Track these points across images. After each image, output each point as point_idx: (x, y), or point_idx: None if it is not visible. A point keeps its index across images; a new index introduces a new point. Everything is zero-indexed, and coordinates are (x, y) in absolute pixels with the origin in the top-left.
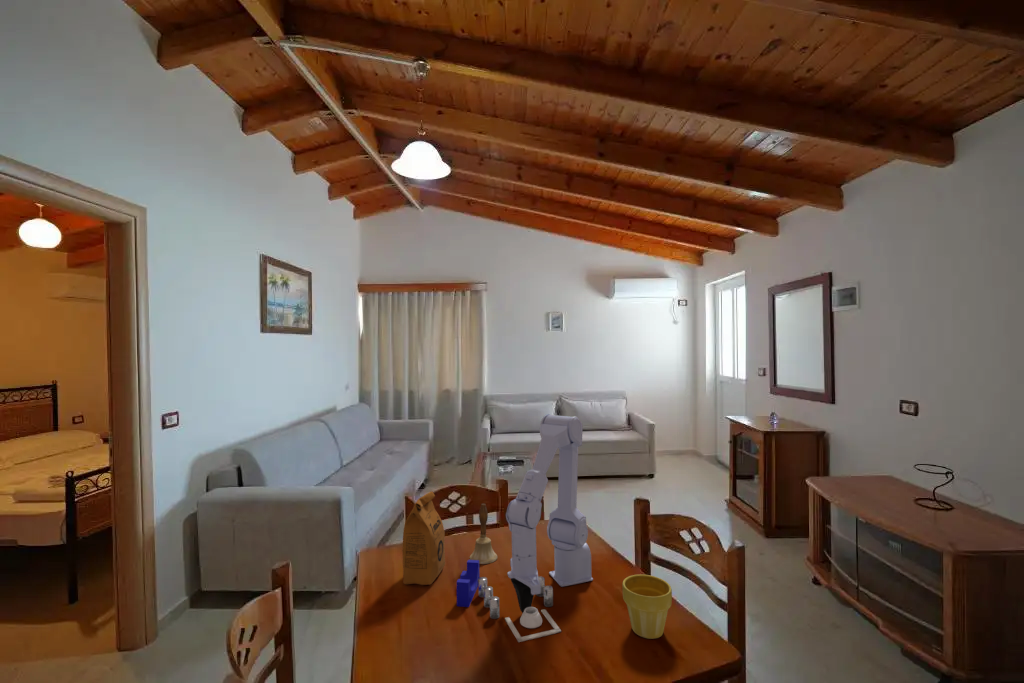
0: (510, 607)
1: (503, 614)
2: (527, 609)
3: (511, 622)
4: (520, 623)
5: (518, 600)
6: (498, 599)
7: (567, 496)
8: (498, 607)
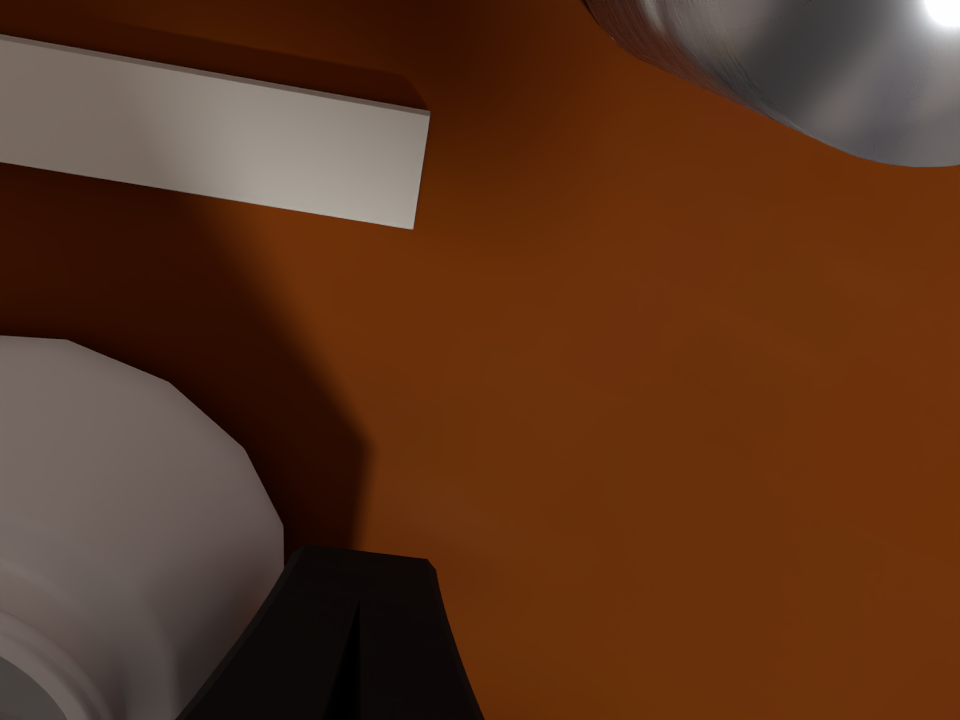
0: (779, 448)
1: (640, 185)
2: (89, 695)
3: (155, 168)
4: (50, 339)
5: (395, 716)
6: (783, 68)
7: None
8: (646, 11)
